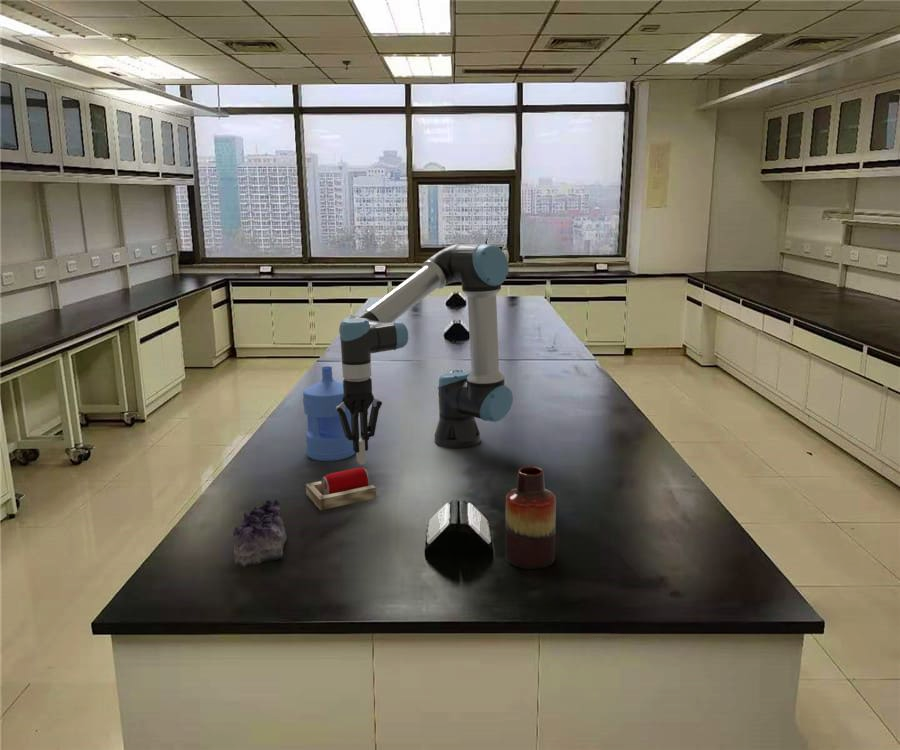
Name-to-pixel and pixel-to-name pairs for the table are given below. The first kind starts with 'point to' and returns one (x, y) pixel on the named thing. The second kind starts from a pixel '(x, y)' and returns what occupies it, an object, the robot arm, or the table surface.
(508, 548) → the vase
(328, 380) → the water jug
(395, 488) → the table surface
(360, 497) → the u rest
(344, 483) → the beverage can
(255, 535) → the geode
